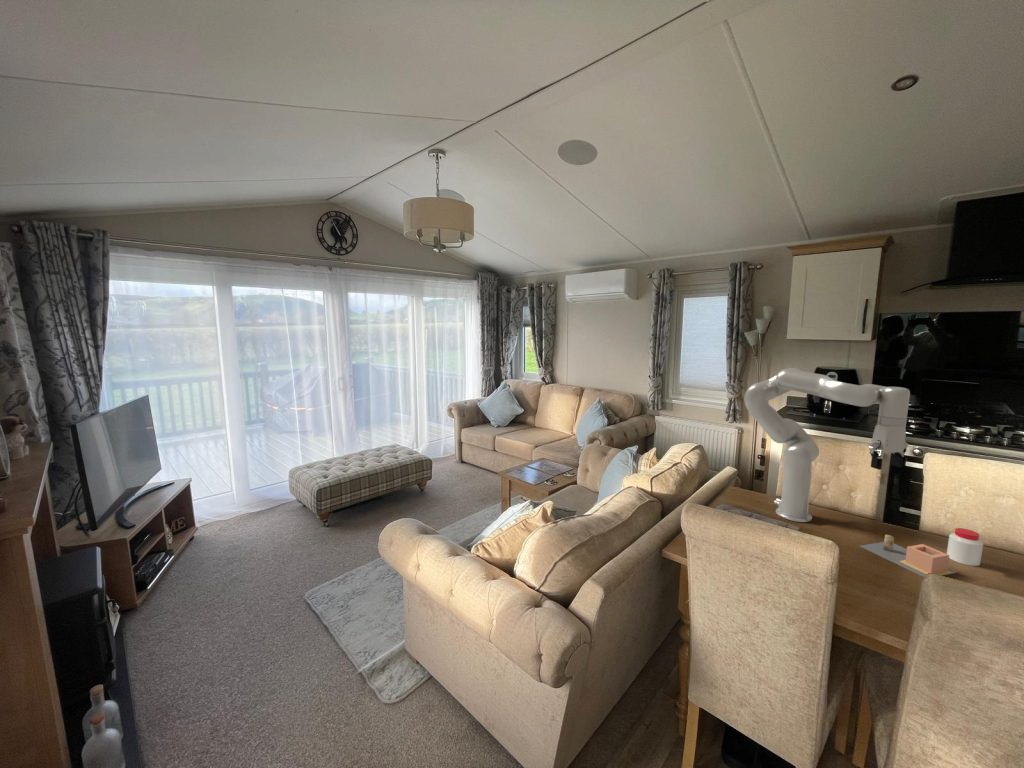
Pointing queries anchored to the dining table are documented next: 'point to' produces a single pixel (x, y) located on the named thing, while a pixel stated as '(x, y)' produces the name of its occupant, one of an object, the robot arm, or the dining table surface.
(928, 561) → the tan boxy piece
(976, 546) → the pill bottle
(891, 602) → the dining table surface
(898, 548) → the post board
